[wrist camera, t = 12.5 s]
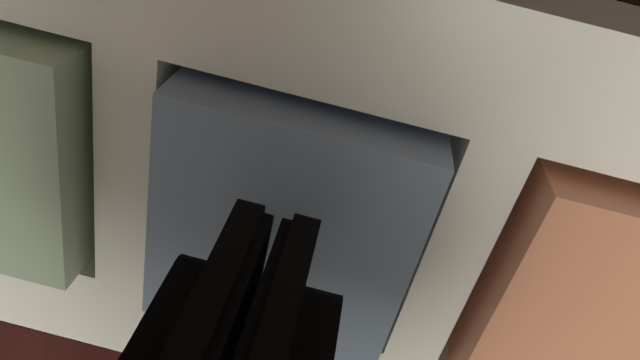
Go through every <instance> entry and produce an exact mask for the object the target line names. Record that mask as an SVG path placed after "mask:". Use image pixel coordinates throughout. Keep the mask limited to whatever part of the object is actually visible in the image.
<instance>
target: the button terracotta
mask: <svg viewBox="0 0 640 360" xmlns="http://www.w3.org/2000/svg"><path fill="white" fill-rule="evenodd" d="M447 345H448V357H449V360H640V183H637V182H633V181H629V180H625V179H621V178H617V177H613V176H610V175H606V174H602V173H598V172H594V171H590V170H586V169H582V168H578V167H574V166H570V165H567V164H563V163H559V162H555V161H551V160H547V159H543V158H539V157H537V159H536V161H535V163H534V166H533V168H532V170H531V172H530V174H529V176H528V178H527V180H526V182H525V184H524V186H523V188H522V190H521V192H520V194H519V196H518V198H517V200H516V202H515V204H514V206H513V208H512V210H511V212H510V214H509V216H508V218H507V220H506V222H505V224H504V226H503V228H502V231H501V233H500V235H499V237H498V239H497V241H496V243H495V245H494V247H493V249H492V251H491V253H490V255H489V257H488V259H487V261H486V263H485V265H484V267H483V269H482V271H481V273H480V275H479V277H478V279H477V281H476V283H475V285H474V287H473V289H472V291H471V293H470V296H469V298H468V300H467V302H466V304H465V306H464V308H463V310H462V312H461V314H460V316H459V318H458V320H457V322H456V324H455V326H454V328H453V330H452V332H451V334H450V336H449V338H448V340H447Z"/></svg>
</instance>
